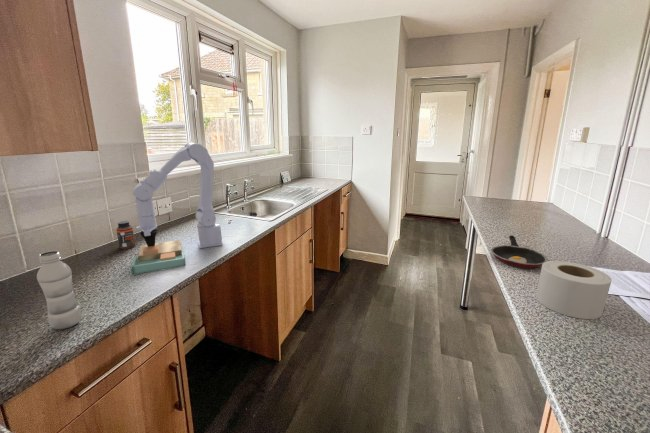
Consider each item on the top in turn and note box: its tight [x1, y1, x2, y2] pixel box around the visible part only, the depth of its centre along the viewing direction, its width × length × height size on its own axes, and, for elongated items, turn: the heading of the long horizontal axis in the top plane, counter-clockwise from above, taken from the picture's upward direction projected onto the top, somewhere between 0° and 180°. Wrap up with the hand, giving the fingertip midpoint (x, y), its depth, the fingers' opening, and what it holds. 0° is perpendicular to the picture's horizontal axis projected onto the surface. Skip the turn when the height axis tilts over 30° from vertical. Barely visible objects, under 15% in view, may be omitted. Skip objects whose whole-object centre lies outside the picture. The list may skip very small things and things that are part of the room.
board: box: [137, 239, 182, 262], centre depth 125 cm, size 15×13×2 cm
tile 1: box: [143, 245, 159, 256], centre depth 118 cm, size 5×5×2 cm
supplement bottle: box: [116, 220, 136, 250], centre depth 130 cm, size 6×6×11 cm
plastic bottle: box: [36, 250, 82, 330], centre depth 76 cm, size 6×7×20 cm
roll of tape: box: [535, 260, 612, 320], centre depth 87 cm, size 16×15×11 cm
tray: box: [131, 248, 186, 275], centre depth 114 cm, size 17×10×3 cm, turn 116°
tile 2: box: [160, 252, 176, 261], centre depth 117 cm, size 5×5×2 cm
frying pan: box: [490, 234, 549, 269], centre depth 124 cm, size 19×32×4 cm, turn 155°
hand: (151, 247), depth 121 cm, fingers closed
